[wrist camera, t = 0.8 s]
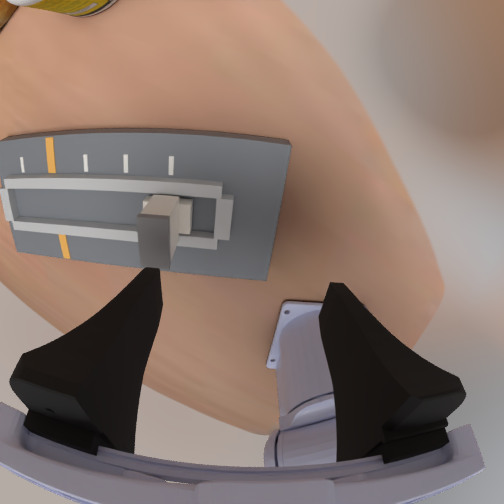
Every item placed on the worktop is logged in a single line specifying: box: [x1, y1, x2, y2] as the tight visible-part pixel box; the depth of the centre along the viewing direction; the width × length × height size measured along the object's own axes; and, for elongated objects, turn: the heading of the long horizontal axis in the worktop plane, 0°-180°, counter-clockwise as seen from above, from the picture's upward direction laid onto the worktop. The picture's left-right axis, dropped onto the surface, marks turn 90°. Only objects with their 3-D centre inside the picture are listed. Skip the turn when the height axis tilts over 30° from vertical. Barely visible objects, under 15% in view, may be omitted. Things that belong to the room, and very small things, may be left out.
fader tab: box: [136, 195, 193, 270], centre depth 17 cm, size 3×3×4 cm
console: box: [0, 128, 292, 281], centre depth 19 cm, size 10×22×2 cm, turn 83°
